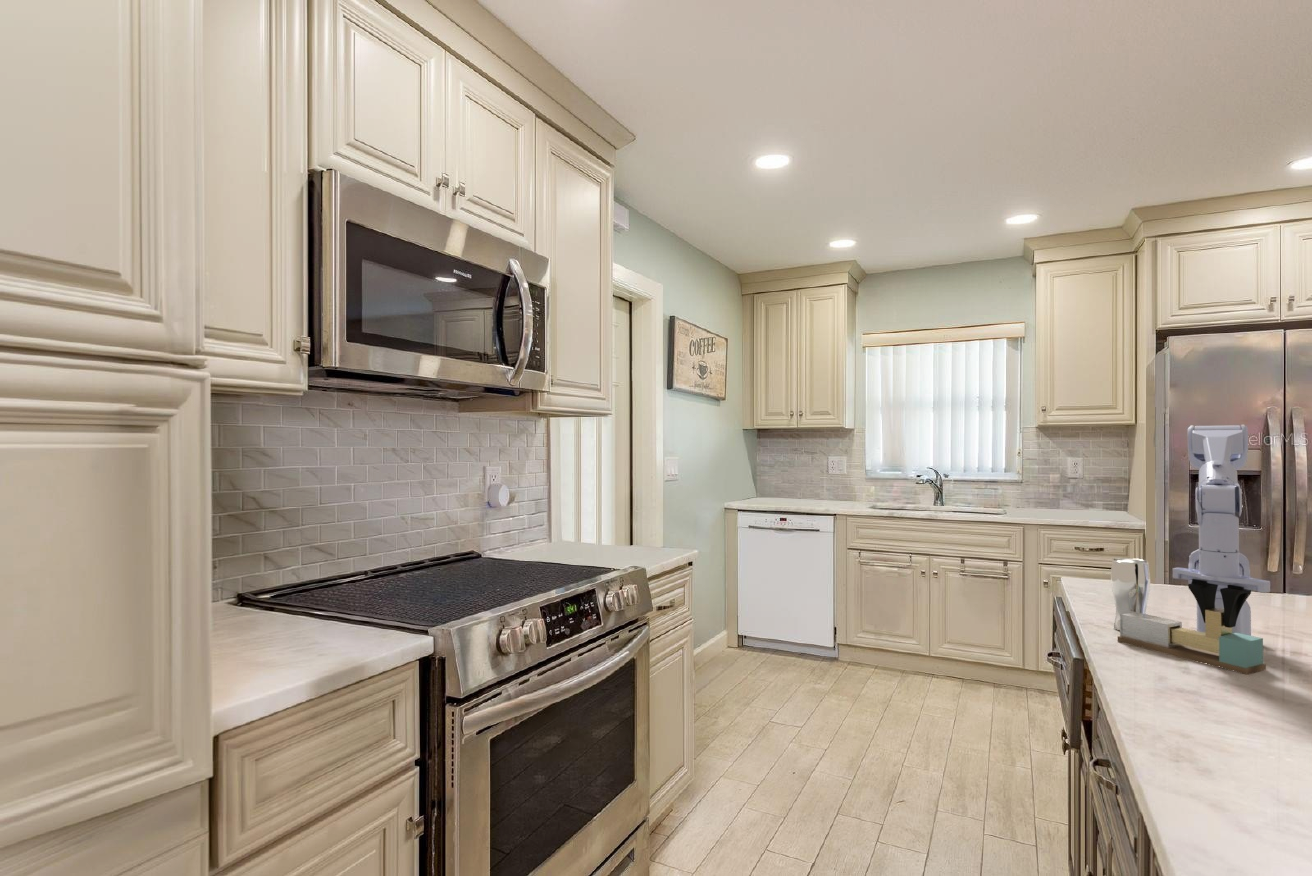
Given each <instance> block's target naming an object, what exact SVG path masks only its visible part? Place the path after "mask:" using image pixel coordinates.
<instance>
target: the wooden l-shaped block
mask: <svg viewBox="0 0 1312 876" xmlns="http://www.w3.org/2000/svg"><path fill="white" fill-rule="evenodd" d="M1228 634H1232V627H1231V628H1228V627H1225V625H1224V609H1220V608H1212V609H1207V610H1205V633H1204V632H1199V631H1197V630H1194V629H1190V628H1185V627H1182V628H1181V627H1177V626H1174V627H1170V642H1173V643H1177V644H1181V645H1185V646H1189V647H1193V648H1198V649H1202V650H1206V651H1210V652H1214V653H1218V654H1219V636H1223V635H1228Z"/></svg>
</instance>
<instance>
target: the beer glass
mask: <svg viewBox="0 0 1312 876" xmlns="http://www.w3.org/2000/svg"><path fill="white" fill-rule="evenodd" d="M1110 569H1111V570H1110V582H1111V585H1110V586H1111V591H1112V597H1113V601H1114V605H1115V606H1114V607H1115V619H1114V624H1113V628H1114V630H1116V629H1117V630H1116V631H1118V630H1120V614H1122V613H1128V612H1138V613H1142V614H1146V613H1147V607H1148V606H1147V605H1148V602H1149V598H1150V597H1149V596H1150V591H1151V573H1150V562H1149V560H1145V559H1140V558H1130V557H1114V558H1112V559H1111V568H1110Z"/></svg>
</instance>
